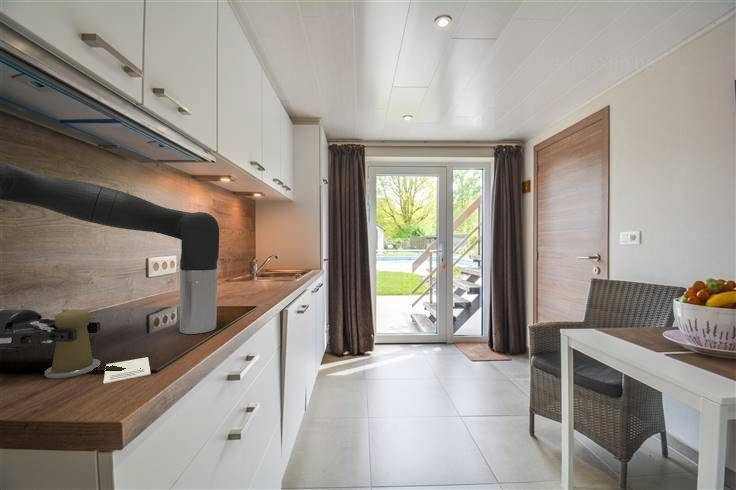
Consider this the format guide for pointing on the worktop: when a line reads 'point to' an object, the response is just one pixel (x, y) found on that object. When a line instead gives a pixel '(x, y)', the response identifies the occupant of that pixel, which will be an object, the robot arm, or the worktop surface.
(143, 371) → the letter
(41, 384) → the worktop surface
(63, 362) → the cork
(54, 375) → the coaster
